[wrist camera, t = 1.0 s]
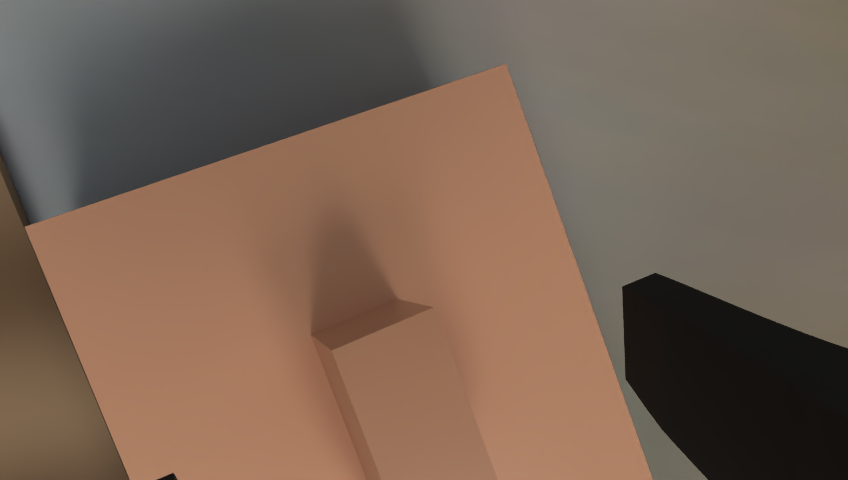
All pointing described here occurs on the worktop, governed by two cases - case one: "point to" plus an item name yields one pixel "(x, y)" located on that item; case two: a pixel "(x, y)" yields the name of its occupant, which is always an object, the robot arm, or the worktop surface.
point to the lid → (348, 308)
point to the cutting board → (42, 372)
